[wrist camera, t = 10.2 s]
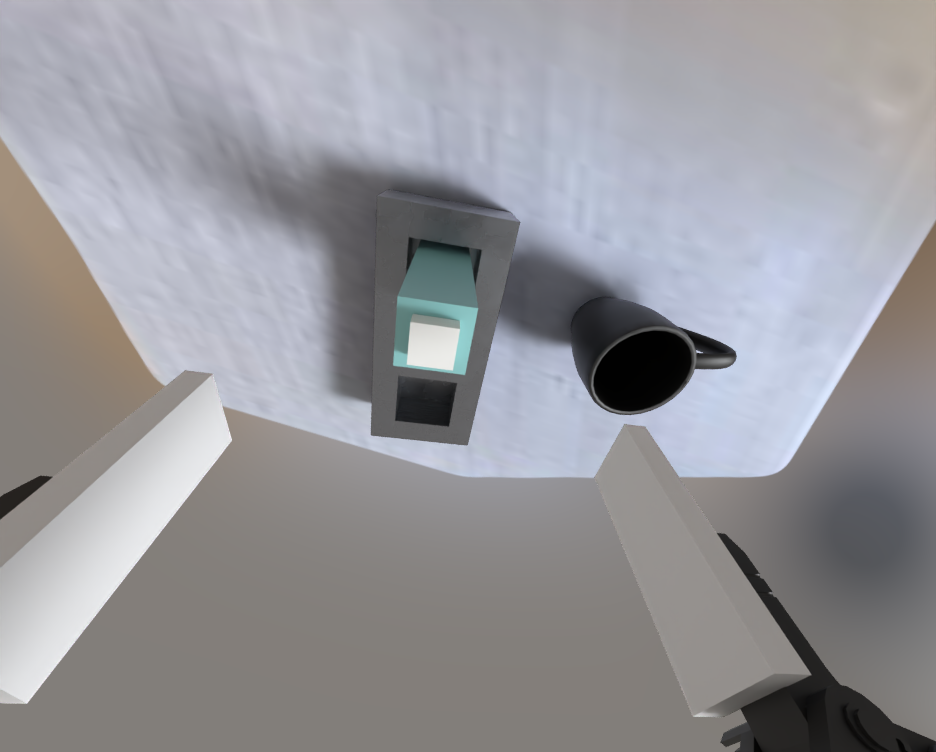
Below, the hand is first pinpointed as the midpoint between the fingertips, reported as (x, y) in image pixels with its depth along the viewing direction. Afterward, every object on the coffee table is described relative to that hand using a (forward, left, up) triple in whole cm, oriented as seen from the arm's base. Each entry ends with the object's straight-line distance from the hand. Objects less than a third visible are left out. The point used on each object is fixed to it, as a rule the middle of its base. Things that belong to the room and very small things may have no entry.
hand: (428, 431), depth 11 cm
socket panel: (+6, 0, -23) cm, 23 cm away
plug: (0, 0, -22) cm, 22 cm away
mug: (+3, +18, -23) cm, 29 cm away
